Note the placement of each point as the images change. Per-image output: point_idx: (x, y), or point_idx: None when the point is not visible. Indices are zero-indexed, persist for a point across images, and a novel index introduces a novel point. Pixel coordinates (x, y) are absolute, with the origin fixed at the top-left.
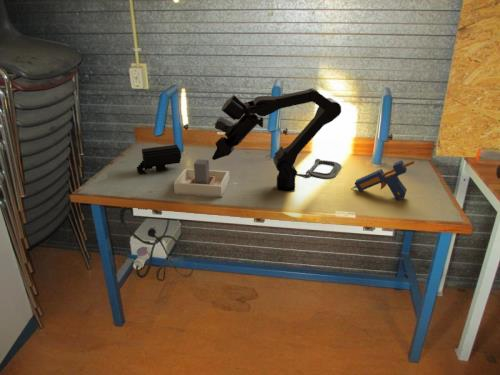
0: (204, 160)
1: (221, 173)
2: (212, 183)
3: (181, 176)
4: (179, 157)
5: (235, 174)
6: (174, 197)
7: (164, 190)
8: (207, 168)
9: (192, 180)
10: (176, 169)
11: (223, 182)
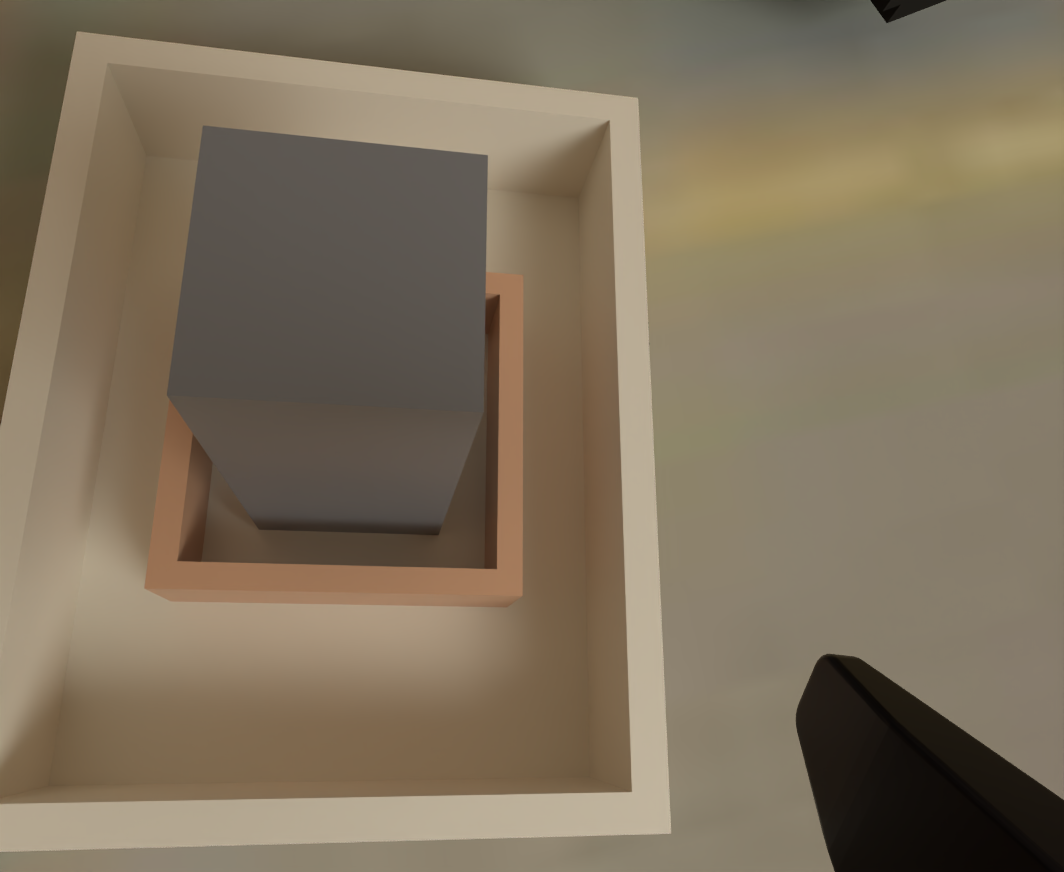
0: (436, 319)
1: (619, 685)
2: (310, 596)
3: (358, 95)
4: None
5: None
6: (31, 160)
7: (236, 19)
8: (327, 451)
9: None
10: (828, 47)
11: (150, 846)
